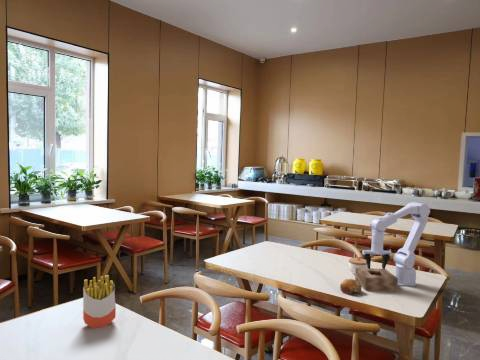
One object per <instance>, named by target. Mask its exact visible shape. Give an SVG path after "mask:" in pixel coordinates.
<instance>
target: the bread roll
mask: <svg viewBox="0 0 480 360" xmlns="http://www.w3.org/2000/svg"><path fill="white" fill-rule="evenodd" d="M339 289H340V291H341V293H343V294H345V295H351V296H357V295H359V294H360V293H361V292H362V286H361V285H360V284H359V282H358V281H356V280H355V278H354V279H353V278H345V279H344V280H343V281H341V283H340V288H339Z"/></svg>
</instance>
